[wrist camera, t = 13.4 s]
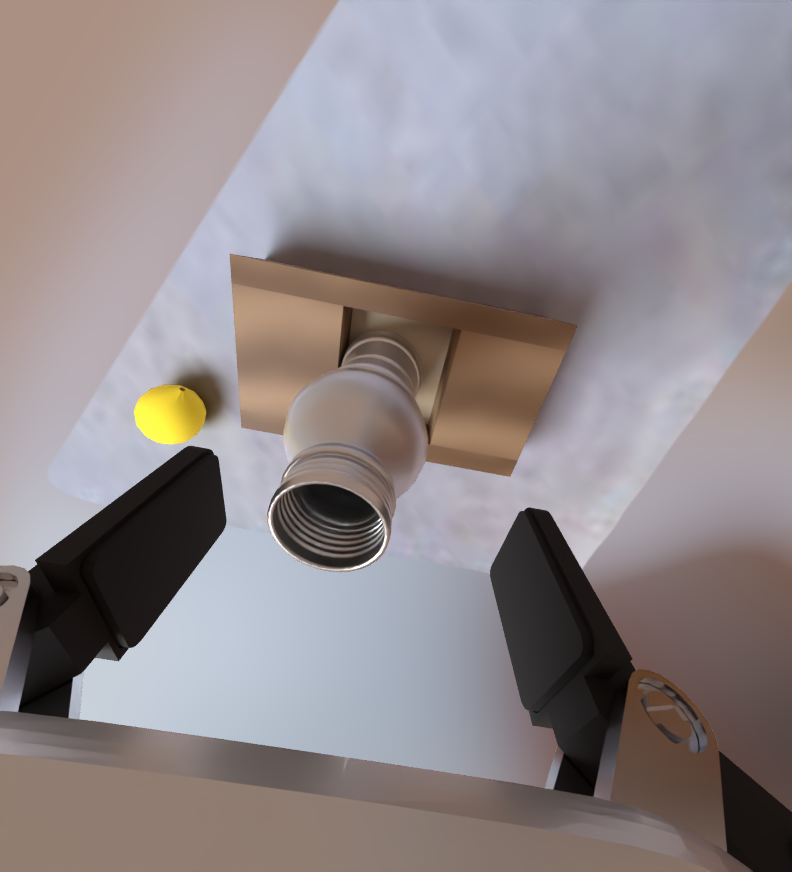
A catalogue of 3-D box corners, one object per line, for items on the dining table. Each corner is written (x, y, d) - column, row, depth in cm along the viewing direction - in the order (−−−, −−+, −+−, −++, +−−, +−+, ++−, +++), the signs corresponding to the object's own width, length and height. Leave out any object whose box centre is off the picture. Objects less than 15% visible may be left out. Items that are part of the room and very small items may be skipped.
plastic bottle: (381, 413, 29) (332, 625, 11) (332, 357, 26) (169, 509, 9) (436, 372, 26) (486, 551, 9) (388, 308, 24) (324, 374, 7)
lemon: (204, 436, 33) (167, 467, 28) (158, 405, 31) (110, 433, 27) (228, 396, 29) (190, 423, 25) (177, 359, 28) (126, 381, 24)
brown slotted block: (264, 259, 24) (229, 253, 20) (547, 317, 25) (577, 325, 21) (267, 405, 30) (241, 427, 26) (495, 447, 31) (510, 476, 26)
